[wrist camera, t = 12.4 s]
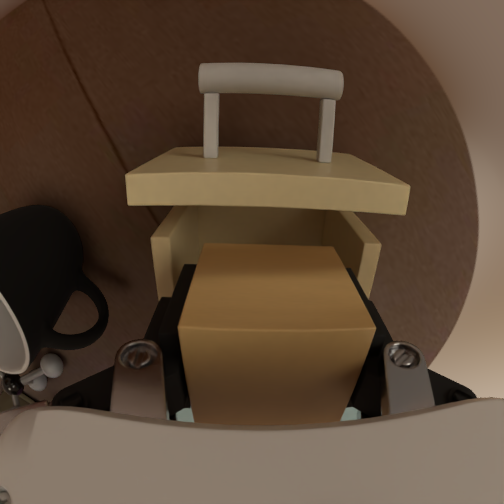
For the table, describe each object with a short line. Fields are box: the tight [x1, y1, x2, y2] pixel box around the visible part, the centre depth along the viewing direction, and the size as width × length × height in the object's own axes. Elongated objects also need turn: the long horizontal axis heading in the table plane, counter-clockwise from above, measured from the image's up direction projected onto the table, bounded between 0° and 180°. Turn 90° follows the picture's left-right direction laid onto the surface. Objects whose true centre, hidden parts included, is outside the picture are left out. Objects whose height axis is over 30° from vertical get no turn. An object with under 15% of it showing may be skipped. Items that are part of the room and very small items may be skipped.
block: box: [177, 243, 376, 425], centre depth 10 cm, size 5×5×5 cm
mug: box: [0, 205, 109, 374], centre depth 16 cm, size 12×9×10 cm
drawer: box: [125, 63, 410, 301], centre depth 15 cm, size 16×10×8 cm, turn 178°
